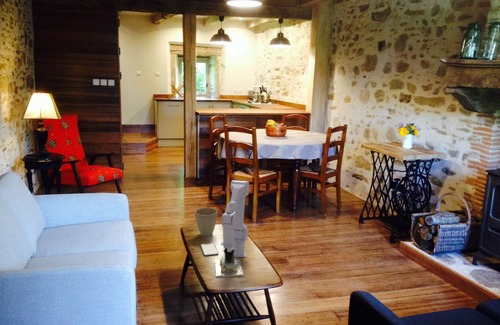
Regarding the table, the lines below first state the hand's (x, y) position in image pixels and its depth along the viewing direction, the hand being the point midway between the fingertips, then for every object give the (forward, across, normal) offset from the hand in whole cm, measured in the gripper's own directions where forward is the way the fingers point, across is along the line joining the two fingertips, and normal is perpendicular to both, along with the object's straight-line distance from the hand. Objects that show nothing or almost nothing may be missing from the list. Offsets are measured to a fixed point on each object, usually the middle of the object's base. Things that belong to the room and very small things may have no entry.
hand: (228, 258), depth 225 cm
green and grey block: (+3, 0, 0) cm, 3 cm away
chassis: (+6, 0, 0) cm, 6 cm away
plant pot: (+6, -52, -11) cm, 53 cm away
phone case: (+6, -26, -10) cm, 28 cm away
